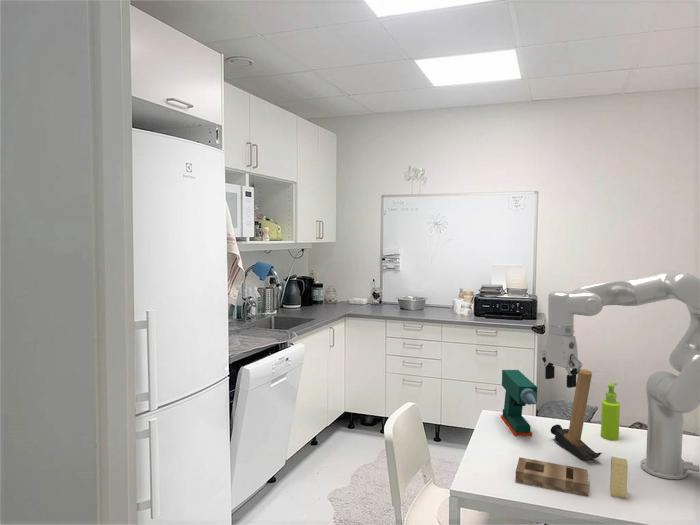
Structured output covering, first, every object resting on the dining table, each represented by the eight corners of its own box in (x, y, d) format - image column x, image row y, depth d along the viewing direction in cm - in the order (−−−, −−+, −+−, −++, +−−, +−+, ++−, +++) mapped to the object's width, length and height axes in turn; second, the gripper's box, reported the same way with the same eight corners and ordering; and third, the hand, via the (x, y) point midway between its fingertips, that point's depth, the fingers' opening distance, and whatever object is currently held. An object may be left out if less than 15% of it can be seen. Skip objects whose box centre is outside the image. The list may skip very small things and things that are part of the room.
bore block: (587, 480, 155) (587, 469, 154) (588, 496, 146) (588, 484, 145) (519, 467, 163) (519, 457, 163) (515, 482, 154) (515, 470, 154)
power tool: (547, 452, 174) (548, 395, 173) (526, 452, 174) (527, 395, 173) (518, 417, 206) (519, 369, 205) (500, 417, 206) (501, 369, 205)
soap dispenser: (621, 436, 187) (623, 383, 186) (616, 442, 182) (618, 387, 181) (604, 431, 191) (605, 380, 190) (598, 437, 186) (600, 384, 185)
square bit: (625, 492, 148) (626, 459, 147) (626, 498, 144) (627, 464, 143) (610, 489, 149) (611, 456, 149) (610, 495, 146) (611, 462, 145)
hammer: (599, 468, 167) (614, 386, 160) (586, 470, 166) (600, 387, 158) (561, 433, 186) (573, 358, 179) (549, 435, 185) (560, 359, 177)
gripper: (590, 334, 154) (590, 389, 156) (551, 324, 171) (551, 374, 172) (570, 336, 152) (570, 392, 153) (533, 326, 168) (532, 376, 170)
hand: (560, 382), depth 163 cm, fingers open, 9 cm apart
